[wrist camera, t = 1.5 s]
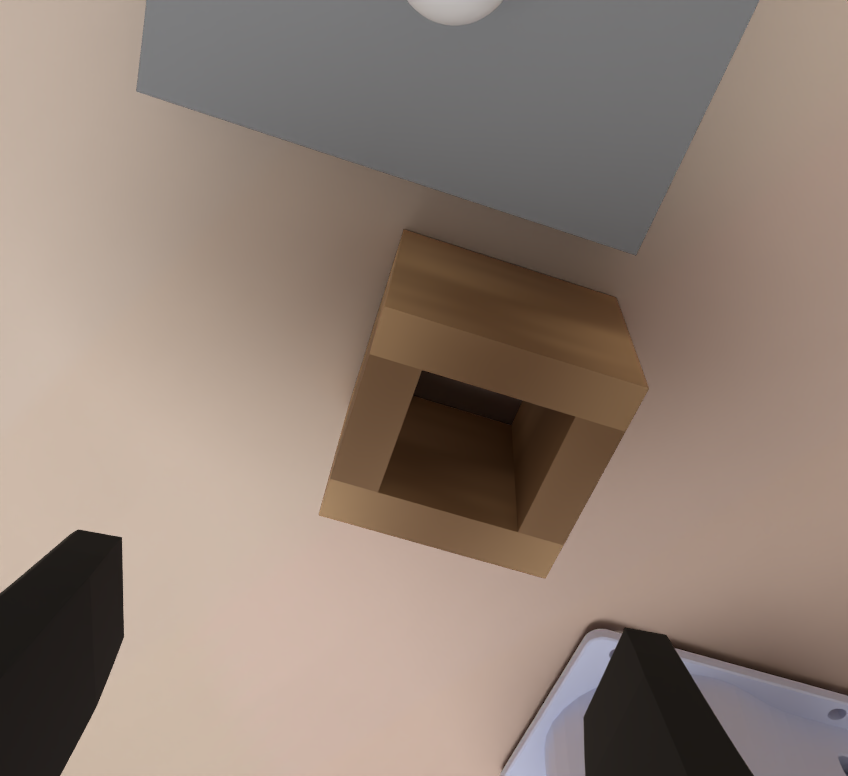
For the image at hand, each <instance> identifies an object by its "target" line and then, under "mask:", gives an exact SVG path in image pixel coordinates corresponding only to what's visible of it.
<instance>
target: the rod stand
mask: <svg viewBox="0 0 848 776" xmlns="http://www.w3.org/2000/svg"><path fill="white" fill-rule="evenodd" d="M758 2H759V0H147V1H146V10H145V19H144V28H143V36H142V45H141V54H140V63H139V72H138V81H137V89H136V91H137V92H140V93H143V94H146V95H149V96H152V97H155V98H158V99H161V100H164V101H167V102H170V103H173V104H176V105H179V106H182V107H185V108H188V109H191V110H195V111H198V112H201V113H204V114H207V115H210V116H213V117H216V118H219V119H222V120H225V121H228V122H231V123H234V124H237V125H240V126H243V127H246V128H249V129H252V130H255V131H258V132H261V133H265V134H268V135H271V136H274V137H277V138H280V139H283V140H286V141H289V142H292V143H295V144H298V145H301V146H304V147H307V148H310V149H313V150H316V151H319V152H322V153H325V154H328V155H332V156H335V157H338V158H341V159H344V160H347V161H350V162H353V163H356V164H359V165H362V166H365V167H368V168H371V169H374V170H377V171H380V172H383V173H386V174H389V175H392V176H395V177H398V178H402V179H405V180H408V181H411V182H414V183H417V184H420V185H423V186H426V187H429V188H432V189H435V190H438V191H441V192H444V193H447V194H450V195H453V196H456V197H459V198H462V199H465V200H468V201H472V202H475V203H478V204H481V205H484V206H487V207H490V208H493V209H496V210H499V211H502V212H505V213H508V214H511V215H514V216H517V217H520V218H523V219H526V220H529V221H532V222H535V223H539V224H542V225H545V226H548V227H551V228H554V229H557V230H560V231H563V232H566V233H569V234H572V235H575V236H578V237H581V238H584V239H587V240H590V241H593V242H596V243H599V244H602V245H605V246H609V247H612V248H615V249H618V250H621V251H624V252H627V253H630V254H633V255H637V252H638V250H639V248H640V246H641V244H642V242H643V240H644V238H645V236H646V234H647V232H648V230H649V228H650V226H651V224H652V221H653V219H654V217H655V215H656V213H657V211H658V209H659V207H660V205H661V203H662V201H663V199H664V197H665V195H666V193H667V190H668V188H669V186H670V184H671V182H672V180H673V178H674V176H675V174H676V172H677V170H678V168H679V166H680V164H681V162H682V159H683V157H684V155H685V153H686V151H687V149H688V147H689V145H690V143H691V141H692V139H693V137H694V135H695V133H696V130H697V128H698V126H699V124H700V122H701V120H702V118H703V116H704V114H705V112H706V110H707V108H708V106H709V104H710V102H711V99H712V97H713V95H714V93H715V91H716V89H717V87H718V85H719V83H720V81H721V79H722V77H723V75H724V73H725V71H726V68H727V66H728V64H729V62H730V60H731V58H732V56H733V54H734V52H735V50H736V48H737V46H738V44H739V42H740V40H741V37H742V35H743V33H744V31H745V29H746V27H747V25H748V23H749V21H750V19H751V17H752V15H753V13H754V11H755V9H756V6H757V4H758Z"/></svg>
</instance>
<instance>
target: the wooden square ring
mask: <svg viewBox="0 0 848 776" xmlns="http://www.w3.org/2000/svg"><path fill="white" fill-rule="evenodd" d="M422 370H424V371H427V372H430V373H434V374H437V375H440V376H444V377H447V378H450V379H453V380H457V381H460V382H463V383H467V384H470V385H473V386H477V387H480V388H483V389H486V390H490V391H493V392H496V393H500V394H503V395H506V396H509V397H513V398H516V399H519V400H523V401H522V403H521V405H520V407H519V410H518V412H517V414H516V416H515V418H514V421H513V423H512V425H509V424H506V423H502V422H499V421H496V420H492V419H489V418H486V417H482V416H479V415H476V414H472V413H469V412H466V411H462V410H459V409H456V408H452V407H449V406H446V405H442V404H439V403H436V402H432V401H429V400H426V399H422V398H419V397H416V396H413V394H414V391H415V388H416V385H417V383H418V380H419V377H420V374H421V372H422ZM648 389H649V387H648V384H647V382H646V379H645V376H644V373H643V370H642V368H641V365H640V362H639V359H638V357H637V354H636V351H635V348H634V345H633V343H632V340H631V337H630V334H629V332H628V329H627V326H626V323H625V320H624V318H623V315H622V312H621V309H620V307H619V304H618V301H617V298H616V297H613V296H610V295H607V294H603V293H600V292H597V291H594V290H591V289H588V288H585V287H582V286H579V285H575V284H572V283H569V282H566V281H563V280H560V279H557V278H554V277H551V276H547V275H544V274H541V273H538V272H535V271H532V270H529V269H526V268H523V267H519V266H516V265H513V264H510V263H507V262H504V261H501V260H498V259H495V258H492V257H488V256H485V255H482V254H479V253H476V252H473V251H470V250H467V249H464V248H460V247H457V246H454V245H451V244H448V243H445V242H442V241H439V240H436V239H432V238H429V237H426V236H423V235H420V234H417V233H414V232H411V231H408V230H403V233H402V237H401V240H400V243H399V246H398V249H397V253H396V256H395V259H394V262H393V266H392V269H391V272H390V275H389V278H388V282H387V285H386V288H385V291H384V294H383V298H382V301H381V304H380V307H379V310H378V314H377V317H376V320H375V323H374V326H373V330H372V333H371V336H370V339H369V342H368V346H367V349H366V352H365V355H364V358H363V362H362V365H361V368H360V371H359V374H358V378H357V381H356V384H355V387H354V391H353V394H352V397H351V400H350V403H349V407H348V410H347V413H346V417H345V420H344V424H343V428H342V431H341V435H340V439H339V442H338V446H337V450H336V453H335V457H334V461H333V464H332V468H331V472H330V475H329V479H328V483H327V486H326V490H325V494H324V497H323V501H322V504H321V508H320V512H319V516H323V517H327V518H330V519H334V520H337V521H341V522H344V523H348V524H352V525H355V526H359V527H362V528H366V529H369V530H373V531H377V532H380V533H384V534H387V535H391V536H394V537H398V538H402V539H405V540H409V541H412V542H416V543H420V544H423V545H427V546H430V547H434V548H437V549H441V550H445V551H448V552H452V553H455V554H459V555H462V556H466V557H470V558H473V559H477V560H480V561H484V562H487V563H491V564H495V565H498V566H502V567H505V568H509V569H512V570H516V571H520V572H523V573H527V574H530V575H534V576H537V577H541V578H546V576H547V575H548V573H549V571H550V569H551V567H552V565H553V564H554V562H555V560H556V558H557V556H558V554H559V553H560V551H561V549H562V547H563V545H564V543H565V542H566V540H567V538H568V536H569V534H570V532H571V531H572V529H573V527H574V525H575V523H576V521H577V520H578V518H579V516H580V514H581V512H582V510H583V509H584V507H585V505H586V503H587V501H588V499H589V498H590V496H591V494H592V492H593V490H594V488H595V487H596V485H597V483H598V481H599V479H600V477H601V476H602V474H603V472H604V470H605V468H606V466H607V465H608V463H609V461H610V459H611V457H612V455H613V454H614V452H615V450H616V448H617V446H618V444H619V442H620V441H621V439H622V437H623V435H624V433H625V431H626V430H627V428H628V426H629V424H630V422H631V420H632V419H633V417H634V415H635V413H636V411H637V409H638V408H639V406H640V404H641V402H642V400H643V398H644V397H645V395H646V393H647V391H648Z"/></svg>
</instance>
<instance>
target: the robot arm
mask: <svg viewBox="0 0 848 776" xmlns="http://www.w3.org/2000/svg"><path fill="white" fill-rule="evenodd" d="M123 638H124V620H123V570H122V537H117V536H111V535H106V534H100V533H95V532H89V531H83V530H77V531H75V532H73V533H72V534H70V535H69V536H68V537H67V538H65V539H64V540H63V541H62V542H61V543H60V544H58V545H57V546H56V547H55V548H54V549H53V550H51V551H50V552H49V553H48V554H47V555H45V556H44V557H43V558H42V559H41V560H40V561H38V562H37V563H36V564H35V565H34V566H33V567H31V568H30V569H29V570H28V571H27V572H25V573H24V574H23V575H22V576H21V577H20V578H18V579H17V580H16V581H15V582H14V583H12V584H11V585H10V586H9V587H7V588H6V589H5V590H4V591H3V592H1V593H0V776H60V775H61V773H62V771H63V769H64V767H65V766H66V764H67V762H68V760H69V758H70V756H71V754H72V752H73V750H74V749H75V747H76V745H77V743H78V741H79V739H80V737H81V735H82V733H83V732H84V730H85V728H86V726H87V724H88V722H89V720H90V718H91V716H92V714H93V712H94V710H95V708H96V706H97V704H98V701H99V699H100V697H101V694H102V692H103V689H104V687H105V684H106V682H107V679H108V677H109V674H110V672H111V669H112V667H113V664H114V661H115V659H116V656H117V654H118V651H119V648H120V646H121V643H122V641H123ZM613 649H615V650H613ZM500 776H848V696H847V695H844V694H840V693H836V692H833V691H829V690H825V689H822V688H818V687H815V686H811V685H807V684H804V683H800V682H796V681H793V680H789V679H785V678H782V677H778V676H775V675H771V674H767V673H764V672H760V671H756V670H753V669H749V668H746V667H742V666H738V665H735V664H731V663H727V662H724V661H720V660H716V659H713V658H709V657H706V656H702V655H698V654H695V653H691V652H687V651H684V650H680V649H677V648H674V647H673V645H672V643H671V642H670V640H669V639H668V637H667V635H663V634H657V633H652V632H646V631H640V630H635V629H629V628H625V629H624V631H623V633H618V632H615V631H611V630H608V629H595V630H592V631H590V632H588V633H587V634H586V635H585V636H584V638H583V640H582V641H581V643H580V645H579V646H578V648H577V649H576V651H575V653H574V654H573V656H572V658H571V659H570V661H569V662H568V664H567V666H566V667H565V669H564V671H563V672H562V674H561V676H560V677H559V679H558V680H557V682H556V684H555V685H554V687H553V689H552V690H551V692H550V693H549V695H548V697H547V698H546V700H545V702H544V703H543V705H542V706H541V708H540V710H539V711H538V713H537V715H536V716H535V718H534V719H533V721H532V723H531V724H530V726H529V728H528V729H527V731H526V732H525V734H524V736H523V737H522V739H521V741H520V742H519V744H518V746H517V747H516V749H515V750H514V752H513V754H512V755H511V757H510V759H509V760H508V762H507V763H506V765H505V767H504V768H503V770H502V772H501V774H500Z"/></svg>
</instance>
